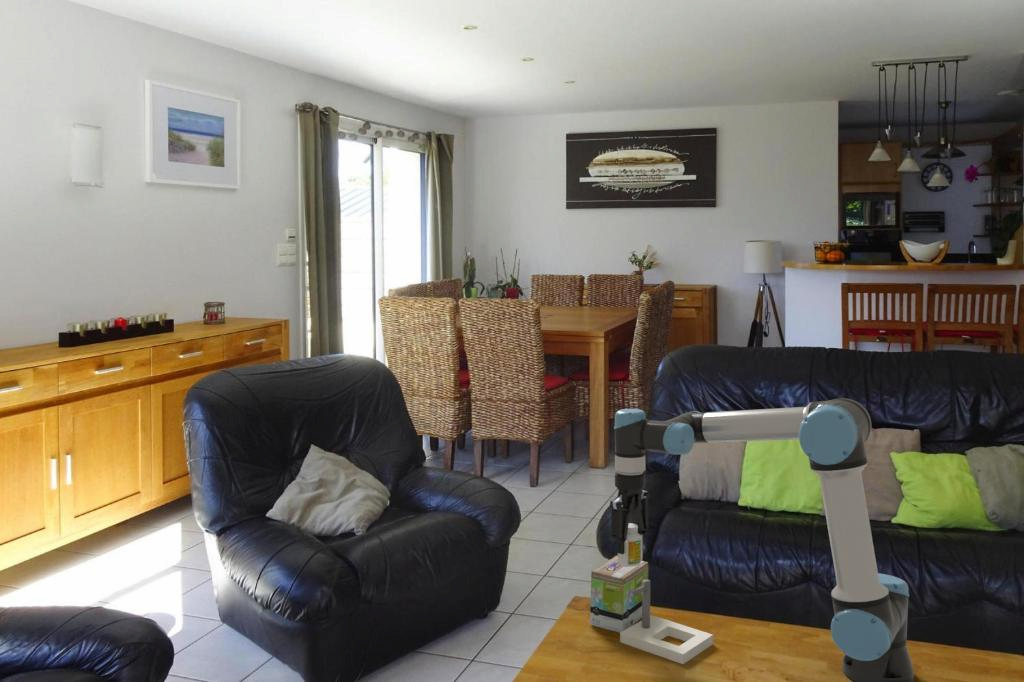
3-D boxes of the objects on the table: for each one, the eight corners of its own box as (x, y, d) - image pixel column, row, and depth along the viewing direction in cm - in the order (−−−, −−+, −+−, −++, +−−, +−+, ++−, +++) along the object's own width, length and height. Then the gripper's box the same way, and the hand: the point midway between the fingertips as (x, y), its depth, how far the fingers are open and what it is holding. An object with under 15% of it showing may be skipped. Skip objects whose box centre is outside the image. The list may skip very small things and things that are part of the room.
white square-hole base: (712, 644, 218) (713, 587, 217) (683, 664, 208) (683, 605, 206) (651, 624, 230) (651, 570, 229) (620, 642, 220) (620, 586, 218)
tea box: (624, 634, 224) (624, 578, 223) (589, 625, 230) (589, 570, 228) (648, 613, 237) (649, 560, 235) (614, 606, 242) (615, 553, 241)
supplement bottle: (637, 568, 218) (637, 529, 217) (616, 565, 220) (616, 527, 219) (643, 560, 223) (642, 523, 222) (622, 558, 225) (622, 521, 224)
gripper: (638, 462, 228) (638, 549, 231) (595, 476, 215) (595, 568, 217) (663, 466, 223) (663, 555, 225) (620, 481, 210) (620, 575, 212)
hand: (630, 562), depth 221 cm, fingers closed on supplement bottle, 5 cm apart
